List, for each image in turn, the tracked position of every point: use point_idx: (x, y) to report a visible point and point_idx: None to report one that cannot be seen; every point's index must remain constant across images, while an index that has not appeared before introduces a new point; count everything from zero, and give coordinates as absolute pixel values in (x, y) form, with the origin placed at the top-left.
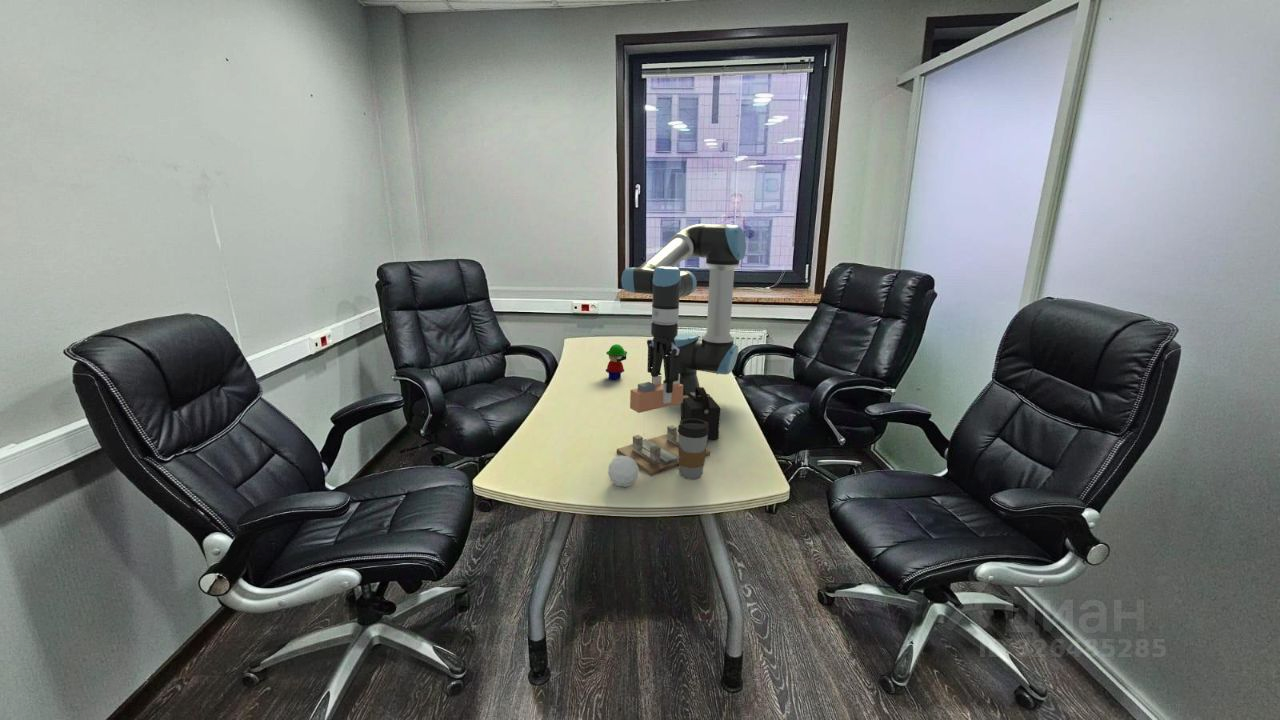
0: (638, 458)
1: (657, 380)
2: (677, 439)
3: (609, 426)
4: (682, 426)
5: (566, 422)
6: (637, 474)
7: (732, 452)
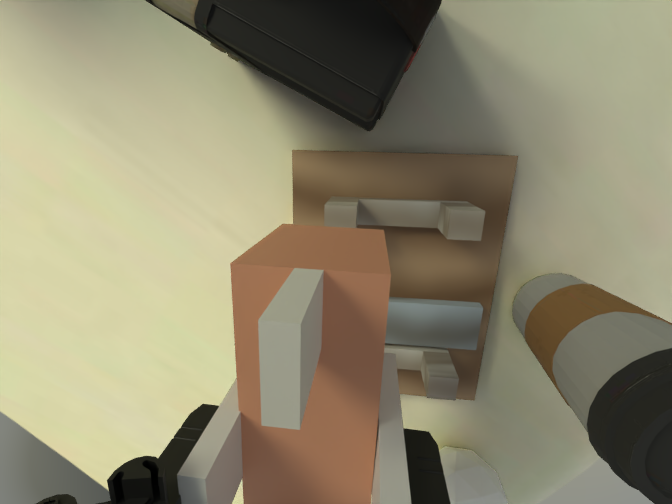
0: None
1: (225, 483)
2: (374, 208)
3: (124, 286)
4: None
5: (49, 366)
6: (499, 480)
7: (560, 53)
